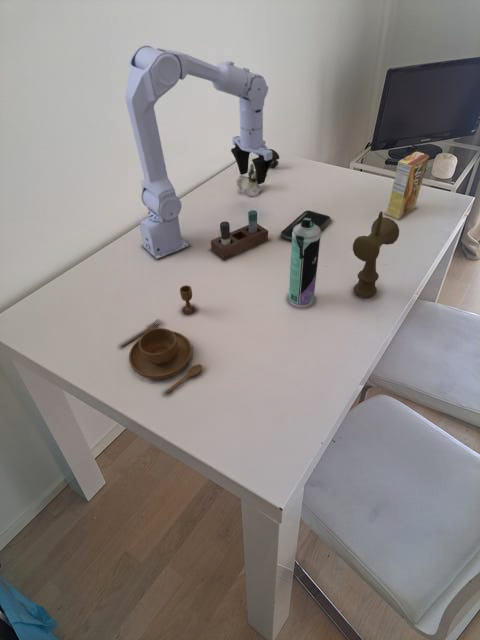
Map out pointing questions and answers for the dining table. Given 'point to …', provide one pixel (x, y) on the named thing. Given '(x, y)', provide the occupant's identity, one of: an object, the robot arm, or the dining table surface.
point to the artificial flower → (254, 178)
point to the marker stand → (239, 242)
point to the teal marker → (252, 221)
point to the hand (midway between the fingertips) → (252, 178)
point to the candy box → (407, 184)
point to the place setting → (163, 349)
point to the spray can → (304, 263)
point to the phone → (316, 219)
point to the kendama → (373, 253)
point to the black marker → (225, 233)
